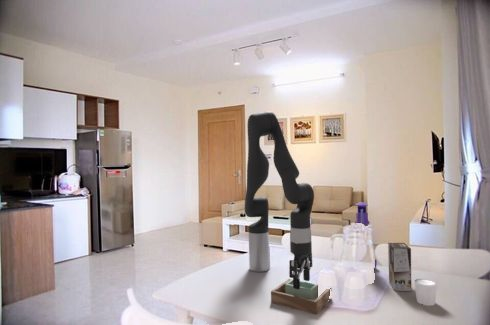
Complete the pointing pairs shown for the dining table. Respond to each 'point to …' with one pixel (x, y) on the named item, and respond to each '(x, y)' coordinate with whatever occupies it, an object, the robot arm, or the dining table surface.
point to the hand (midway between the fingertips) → (301, 284)
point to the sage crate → (302, 290)
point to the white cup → (426, 291)
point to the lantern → (363, 217)
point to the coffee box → (399, 266)
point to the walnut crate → (299, 300)
